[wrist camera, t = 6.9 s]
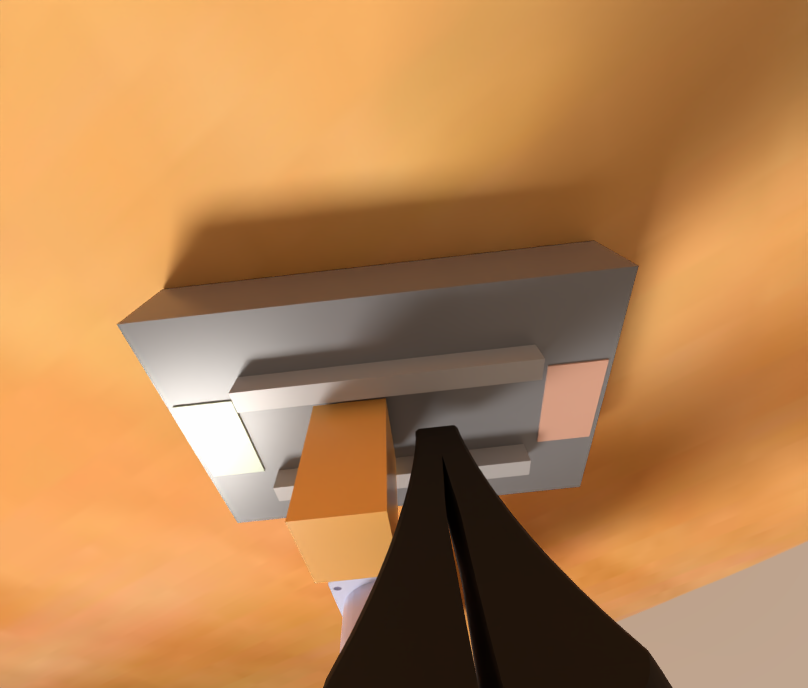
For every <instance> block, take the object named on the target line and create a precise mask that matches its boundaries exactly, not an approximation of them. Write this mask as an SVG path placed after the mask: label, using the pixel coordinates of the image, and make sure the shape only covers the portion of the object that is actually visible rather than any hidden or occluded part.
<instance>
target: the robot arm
mask: <svg viewBox="0 0 808 688" xmlns="http://www.w3.org/2000/svg"><path fill="white" fill-rule="evenodd" d="M415 436H416V441H415V453H414V459H413V466H412V471H411V475H410V480H409V484H408V489H407V493H406V496H405V500H404V503H403V507H402V510H401V514H400V517H399V520H398V523H397V526H396V529H395V532H394V535H393V538H392V541H391V543H390V546H389V549H388V551H387V554H386V556H385V559H384V561H383V564H382V566H381V569H380V571H379V574H378V576H377V577H372V578H362V579H353V580H343V581H333V582H328V585H329V588H330V590H331V592H332V594H333V597H334V599H335V601H336V603H337V606H338V608H339V610H340V612H341V615H342V617H343V619H342V632H341V644H340V654H339V656H338V658H337V660H336V662H335V663H334V665H333V667H332V669H331V671H330V673H329V675H328V676H327V678H326V681H325V684H324V687H323V688H672V686H671V685H670V683H669V682H668V680H667V678H666V677H665V675H664V674H663V672H662V670H661V669H660V667H659V666H658V665H657V663H656V661H655V660H654V658H653V657H652V656H651V654H650V653H649V651H648V650H647V649H646V648H645V647H643V646H642V645H641V644H640V643H639V642H638V641H636V640H635V639H634V638H633V637H632V636H631V635H630V634H629V633H627V632H626V631H625V630H624V629H623V628H622V627H621V626H619V625H618V624H617V623H616V622H615V621H614V620H613V619H612V618H611V617H610V616H608V615H607V614H606V613H605V612H604V611H603V610H602V609H601V608H600V607H599V606H598V605H597V604H596V603H594V602H593V601H592V600H591V599H590V598H589V597H588V596H587V595H586V594H585V593H584V592H583V591H582V590H581V589H580V588H579V587H578V586H577V585H576V584H575V583H574V582H573V581H572V580H571V579H570V578H569V577H568V576H567V575H566V574H565V573H564V572H563V571H562V570H561V569H560V568H559V567H558V566H557V565H556V564H555V563H554V562H553V561H552V560H551V559H550V558H549V556H548V555H547V554H546V553H545V552H544V551H543V550H542V549H541V548H540V547H539V545H538V544H537V543H536V542H535V541H534V540H533V539H532V538H531V536H530V535H529V534H528V533H527V532H526V530H525V529H524V528H523V527H522V526H521V525H520V523H519V522H518V521H517V520H516V518H515V517H514V516H513V515H512V513H511V512H510V511H509V510H508V508H507V507H506V506H505V504H504V503H503V502H502V500H501V499H500V498H499V496H498V495H497V493H496V492H495V491H494V489H493V488H492V486H491V485H490V483H489V482H488V480H487V479H486V477H485V476H484V474H483V473H482V471H481V470H480V468H479V467H478V465H477V464H476V462H475V460H474V459H473V457H472V455H471V453H470V452H469V450H468V448H467V446H466V445H465V443H464V441H463V439H462V437H461V434H460V432H459V430H458V427H456V426H455V425H449V426H440V427H430V428H421V429H418V430H417V431H416V432H415ZM448 526H449V527H448ZM449 530H450V533H449ZM450 535H451V539H452V543H453V547H454V551H455V555H456V560H457V564H458V568H459V572H460V577H461V582H462V587H463V593H464V599H465V605H466V612H467V618H468V625H469V631H470V637H471V644H472V650H473V656H472V651H471V646H470V641H469V636H468V630H467V625H466V620H465V615H464V609H463V604H462V599H461V594H460V588H459V583H458V577H457V572H456V567H455V561H454V556H453V550H452V544H451V539H450ZM473 657H474V661H473ZM474 663H475V666H474ZM475 670H476V671H475Z"/></svg>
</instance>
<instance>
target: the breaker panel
mask: <svg viewBox="0 0 808 688" xmlns="http://www.w3.org/2000/svg"><path fill="white" fill-rule="evenodd" d="M637 270H638V265H636V264H634V263H632V262H631V261H629V260H627V259H625V258H624V257H622V256H620V255H618V254H617V253H615V252H613V251H611V250H610V249H608V248H606V247H604V246H603V245H601V244H599V243H597V242H596V241H587V242H578V243H569V244H560V245H551V246H542V247H533V248H525V249H516V250H507V251H498V252H489V253H480V254H471V255H463V256H454V257H445V258H436V259H427V260H418V261H409V262H401V263H392V264H383V265H374V266H365V267H356V268H348V269H339V270H330V271H321V272H312V273H303V274H294V275H286V276H277V277H268V278H259V279H250V280H241V281H232V282H224V283H215V284H206V285H197V286H188V287H179V288H170V289H162V290H161V291H160V292H158V293H157V294H156V295H154V296H153V297H152V298H151V299H149V300H148V301H147V302H145V303H144V304H143V305H141V306H140V307H139V308H138V309H136V310H135V311H134V312H132V313H131V314H130V315H128V316H127V317H126V318H125V319H123V320H122V321H121V322H119V323H118V324H117V325H118V327H119V329H120V330H121V332H122V334H123V335H124V337H125V339H126V340H127V342H128V344H129V345H130V347H131V348H132V350H133V352H134V353H135V355H136V357H137V358H138V360H139V362H140V363H141V365H142V367H143V368H144V370H145V371H146V373H147V375H148V376H149V378H150V380H151V381H152V383H153V385H154V386H155V388H156V390H157V391H158V393H159V394H160V396H161V398H162V399H163V401H164V403H165V404H166V406H167V408H168V409H169V411H170V412H171V414H172V416H173V417H174V419H175V421H176V422H177V424H178V426H179V427H180V429H181V431H182V432H183V434H184V435H185V437H186V439H187V440H188V442H189V444H190V445H191V447H192V449H193V450H194V452H195V454H196V455H197V457H198V458H199V460H200V462H201V463H202V465H203V467H204V468H205V470H206V472H207V473H208V475H209V477H210V478H211V480H212V481H213V483H214V485H215V486H216V488H217V490H218V491H219V493H220V495H221V496H222V498H223V500H224V501H225V503H226V504H227V506H228V508H229V509H230V511H231V513H232V514H233V516H234V518H235V519H236V521H237V523H241V522H251V521H260V520H270V519H279V518H286V517H287V512H288V508H289V504H290V500H291V496H292V492H293V488H294V484H295V479H296V475H297V471H298V467H299V463H300V459H301V455H302V451H303V447H304V442H305V438H306V434H307V430H308V426H309V422H310V418H311V414H312V409H313V406H318V405H328V404H337V403H346V402H355V401H364V400H373V399H383V398H386V403H387V409H388V415H389V421H390V427H391V433H392V439H393V445H394V451H395V457H396V477H397V503H398V506H402V505H403V503H404V500H405V496H406V493H407V489H408V484H409V480H410V475H411V471H412V466H413V459H414V453H415V441H416V436H415V432H416V431H417V430H418V429H421V428H430V427H440V426H449V425H455V426H456V427H458V430H459V432H460V434H461V437H462V439H463V441H464V443H465V445H466V446H467V448H468V450H469V452H470V453H471V455H472V457H473V459H474V460H475V462H476V464H477V465H478V467H479V468H480V470H481V471H482V473H483V474H484V476H485V477H486V479H487V480H488V482H489V483H490V485H491V486H492V488H493V489H494V491H495V492H496V493H497V495H506V494H515V493H524V492H534V491H543V490H553V489H562V488H572V487H580V485H581V481H582V477H583V473H584V470H585V466H586V462H587V458H588V454H589V451H590V447H591V443H592V439H593V436H594V432H595V428H596V424H597V421H598V417H599V413H600V409H601V405H602V402H603V398H604V394H605V390H606V387H607V383H608V379H609V375H610V371H611V368H612V364H613V360H614V356H615V353H616V349H617V345H618V341H619V337H620V334H621V330H622V326H623V322H624V319H625V315H626V311H627V307H628V303H629V300H630V296H631V292H632V288H633V285H634V281H635V277H636V273H637Z"/></svg>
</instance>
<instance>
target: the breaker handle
mask: <svg viewBox="0 0 808 688" xmlns="http://www.w3.org/2000/svg"><path fill="white" fill-rule="evenodd" d="M285 523H286V525H287V527H288V529H289V531H290V533H291V535H292V537H293V539H294V541H295V543H296V545H297V547H298V550H299V552H300V554H301V556H302V558H303V560H304V562H305V564H306V566H307V568H308V570H309V572H310V574H311V576H312V579H313V581H314V583H324V582H333V581H343V580H353V579H362V578H372V577H377V576H378V574H379V571H380V569H381V566H382V564H383V561H384V559H385V556H386V554H387V551H388V549H389V546H390V543H391V541H392V538H393V535H394V532H395V529H396V526H397V523H398V503H397V477H396V457H395V451H394V445H393V439H392V433H391V427H390V421H389V415H388V409H387V403H386V398H383V399H373V400H364V401H355V402H346V403H337V404H328V405H318V406H313V409H312V414H311V418H310V422H309V426H308V430H307V434H306V438H305V442H304V447H303V451H302V455H301V459H300V463H299V467H298V471H297V475H296V479H295V484H294V488H293V492H292V496H291V500H290V504H289V508H288V512H287V517H286V521H285Z"/></svg>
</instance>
